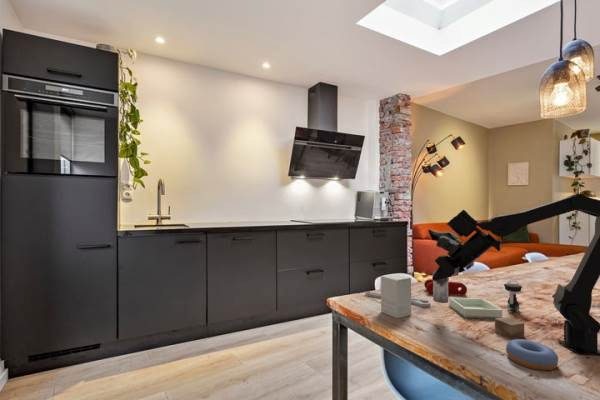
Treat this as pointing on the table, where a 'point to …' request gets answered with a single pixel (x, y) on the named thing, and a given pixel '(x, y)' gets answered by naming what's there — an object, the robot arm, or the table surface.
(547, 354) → the doughnut
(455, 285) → the mechanical linkage
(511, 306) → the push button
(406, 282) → the supplement box
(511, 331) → the walnut block
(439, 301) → the pepper shaker
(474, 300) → the bin
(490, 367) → the table surface
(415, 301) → the adjustable wrench
